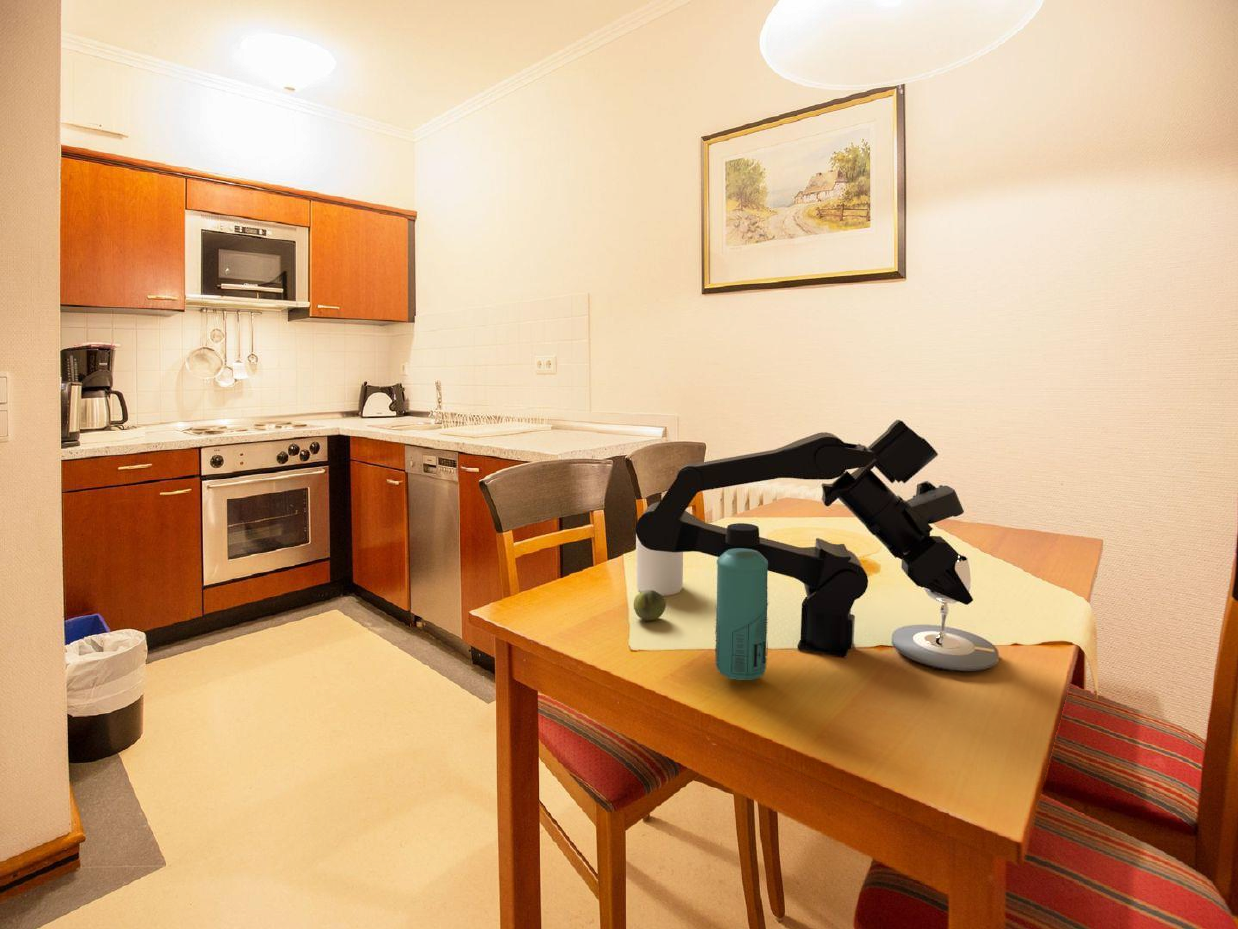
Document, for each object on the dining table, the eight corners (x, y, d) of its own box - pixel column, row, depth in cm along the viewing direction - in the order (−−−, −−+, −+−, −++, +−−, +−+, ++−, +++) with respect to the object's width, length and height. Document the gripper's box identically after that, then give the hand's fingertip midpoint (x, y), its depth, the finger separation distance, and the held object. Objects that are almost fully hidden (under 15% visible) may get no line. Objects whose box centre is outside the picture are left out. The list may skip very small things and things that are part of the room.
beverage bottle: (756, 697, 78) (760, 534, 75) (705, 683, 81) (707, 527, 78) (774, 675, 83) (778, 523, 80) (725, 663, 86) (728, 516, 84)
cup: (634, 596, 112) (634, 538, 111) (639, 574, 124) (639, 522, 123) (682, 597, 111) (683, 540, 110) (682, 575, 123) (683, 523, 122)
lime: (629, 618, 102) (629, 588, 101) (655, 613, 104) (655, 583, 104) (644, 628, 98) (644, 596, 98) (670, 622, 101) (671, 591, 100)
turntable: (888, 658, 86) (888, 652, 86) (894, 624, 97) (895, 618, 97) (1002, 678, 80) (1002, 672, 80) (994, 639, 92) (994, 633, 92)
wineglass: (960, 654, 85) (967, 565, 83) (913, 642, 88) (919, 557, 87) (970, 640, 89) (976, 555, 87) (925, 629, 93) (931, 548, 91)
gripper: (945, 477, 77) (1039, 573, 76) (907, 456, 95) (983, 533, 94) (871, 539, 79) (962, 632, 79) (848, 507, 97) (922, 582, 97)
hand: (958, 590), depth 87 cm, fingers open, 9 cm apart
